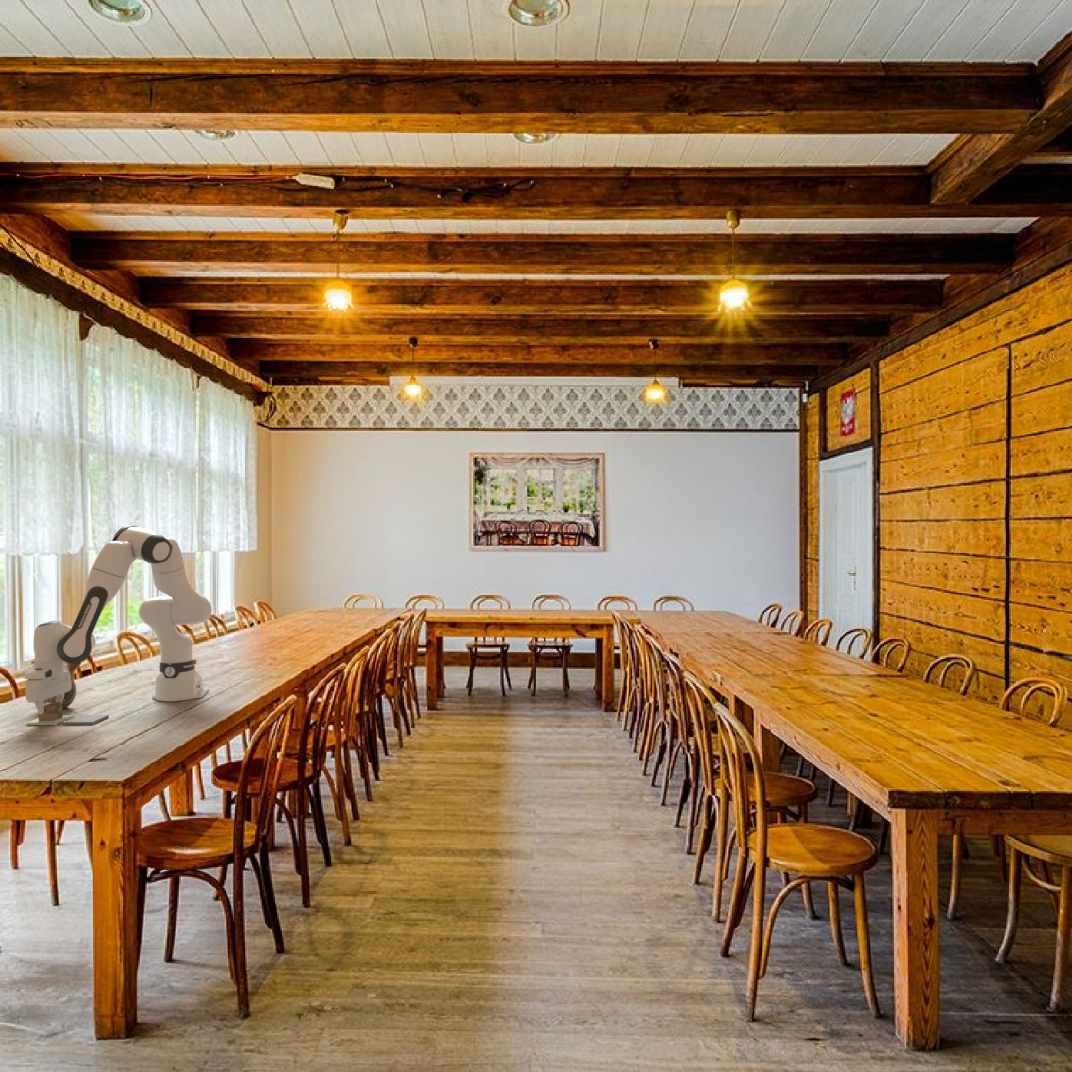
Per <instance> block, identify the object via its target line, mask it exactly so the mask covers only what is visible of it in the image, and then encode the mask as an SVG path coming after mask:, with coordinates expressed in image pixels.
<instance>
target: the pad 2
mask: <svg viewBox="0 0 1072 1072" xmlns="http://www.w3.org/2000/svg"><path fill="white" fill-rule="evenodd" d="M109 715H110V714H83V715H80V714H79V715H77V716H74V718H72V719H69V720H67V721H65V722H63V723H62V726H93V724H94V725H96V724H98V723H100V722H99V721H101V722H103V721H105V720H106V718H107V719H109ZM97 722H98V723H97ZM95 723H96V724H95Z"/></svg>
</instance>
